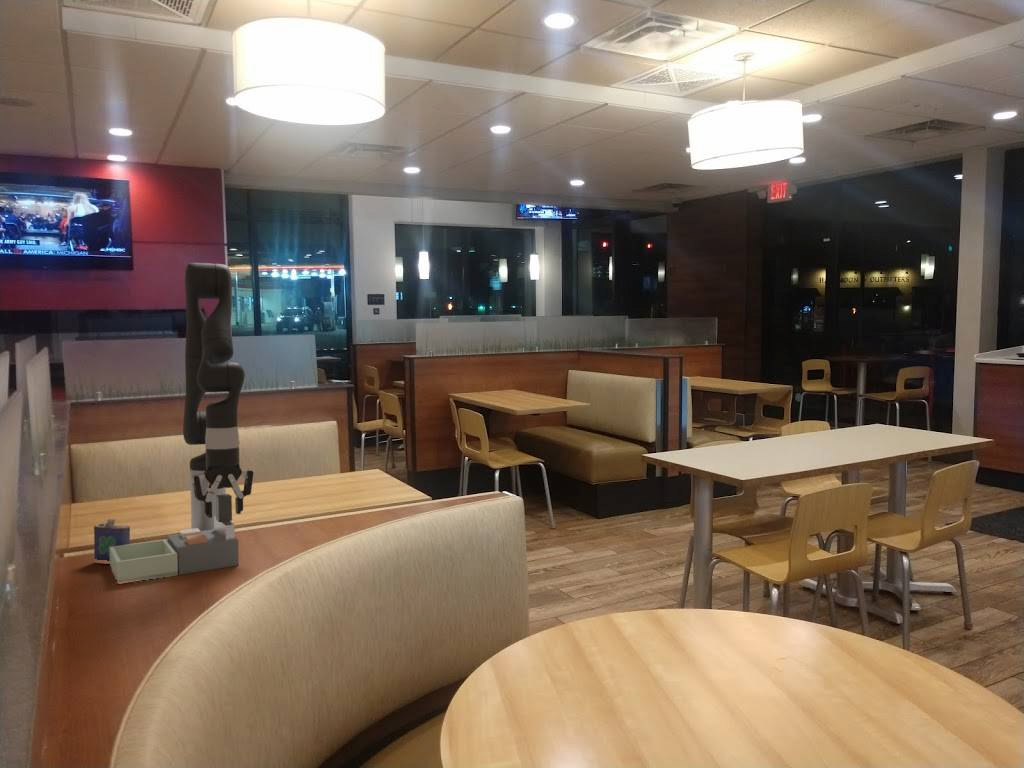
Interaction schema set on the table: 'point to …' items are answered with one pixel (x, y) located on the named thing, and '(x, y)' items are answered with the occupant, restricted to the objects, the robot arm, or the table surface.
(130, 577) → the box
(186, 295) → the robot arm
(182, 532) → the tile cream
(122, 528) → the flask
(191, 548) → the grey slotted block
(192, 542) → the tile terracotta
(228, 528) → the scraper
